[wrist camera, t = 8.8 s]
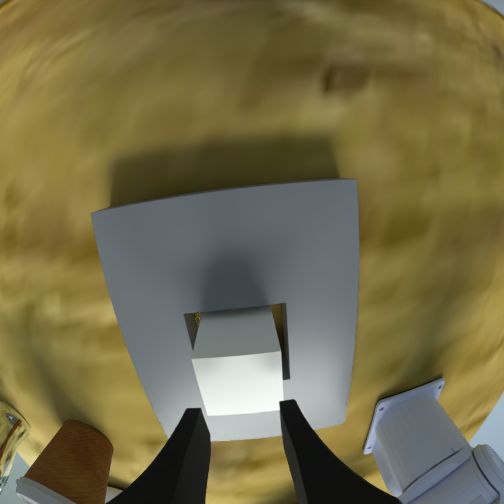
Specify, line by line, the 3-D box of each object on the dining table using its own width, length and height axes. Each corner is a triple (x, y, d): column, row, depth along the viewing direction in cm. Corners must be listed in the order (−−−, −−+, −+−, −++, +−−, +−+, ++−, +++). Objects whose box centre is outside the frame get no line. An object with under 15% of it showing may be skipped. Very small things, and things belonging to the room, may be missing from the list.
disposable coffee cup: (38, 408, 20) (-4, 479, 9) (94, 409, 20) (50, 506, 9) (84, 458, 23) (59, 526, 12) (142, 463, 23) (123, 547, 11)
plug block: (271, 347, 19) (283, 409, 13) (214, 352, 19) (207, 415, 13) (267, 295, 18) (281, 351, 12) (204, 301, 18) (191, 358, 12)
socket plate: (336, 402, 21) (344, 423, 18) (173, 419, 20) (169, 440, 18) (340, 177, 16) (356, 179, 13) (109, 207, 16) (90, 213, 13)
